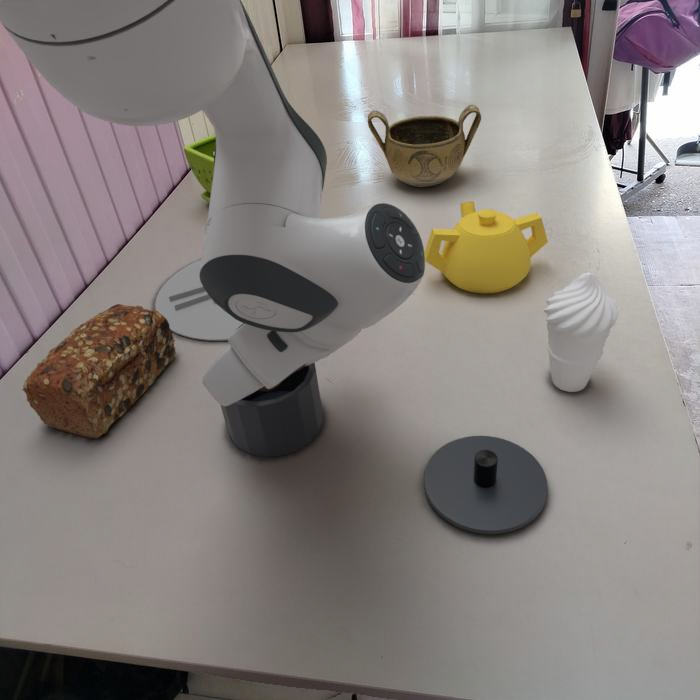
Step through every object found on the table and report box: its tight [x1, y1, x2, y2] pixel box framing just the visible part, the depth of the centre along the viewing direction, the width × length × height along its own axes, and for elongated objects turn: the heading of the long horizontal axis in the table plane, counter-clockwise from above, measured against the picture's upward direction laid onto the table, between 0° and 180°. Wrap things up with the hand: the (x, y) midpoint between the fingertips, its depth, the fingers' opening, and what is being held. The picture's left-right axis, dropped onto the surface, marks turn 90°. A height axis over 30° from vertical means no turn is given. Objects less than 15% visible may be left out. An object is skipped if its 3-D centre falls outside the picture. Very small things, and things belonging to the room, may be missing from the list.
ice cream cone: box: [543, 271, 619, 393], centre depth 77 cm, size 8×8×16 cm
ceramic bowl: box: [367, 104, 482, 188], centre depth 130 cm, size 22×17×15 cm
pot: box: [220, 362, 324, 458], centre depth 78 cm, size 12×12×8 cm
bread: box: [21, 303, 176, 439], centre depth 86 cm, size 19×11×10 cm, turn 158°
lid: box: [423, 435, 549, 535], centre depth 69 cm, size 13×13×5 cm
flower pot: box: [183, 134, 216, 204], centre depth 130 cm, size 14×14×13 cm
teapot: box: [424, 201, 549, 295], centre depth 102 cm, size 20×18×11 cm
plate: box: [154, 258, 243, 342], centre depth 106 cm, size 28×28×1 cm
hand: (258, 358), depth 75 cm, fingers closed on egg, 5 cm apart
